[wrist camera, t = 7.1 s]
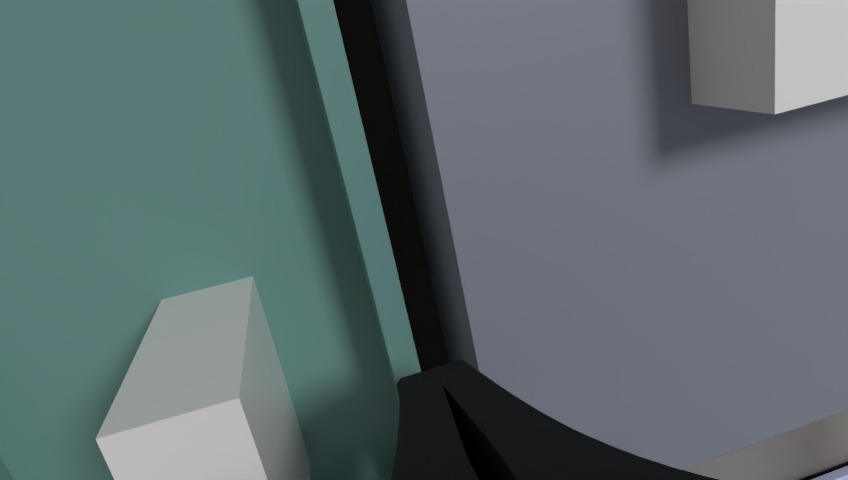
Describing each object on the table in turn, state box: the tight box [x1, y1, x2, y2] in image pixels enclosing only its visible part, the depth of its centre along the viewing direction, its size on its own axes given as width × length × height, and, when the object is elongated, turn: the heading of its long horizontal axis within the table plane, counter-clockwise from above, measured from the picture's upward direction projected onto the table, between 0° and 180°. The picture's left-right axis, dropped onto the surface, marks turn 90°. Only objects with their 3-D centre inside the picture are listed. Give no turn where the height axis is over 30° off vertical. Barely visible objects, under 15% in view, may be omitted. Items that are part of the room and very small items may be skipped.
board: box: [371, 0, 848, 470], centre depth 13 cm, size 15×13×4 cm
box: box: [0, 0, 421, 480], centre depth 12 cm, size 16×10×2 cm, turn 12°
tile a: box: [96, 276, 310, 480], centre depth 12 cm, size 5×5×2 cm
